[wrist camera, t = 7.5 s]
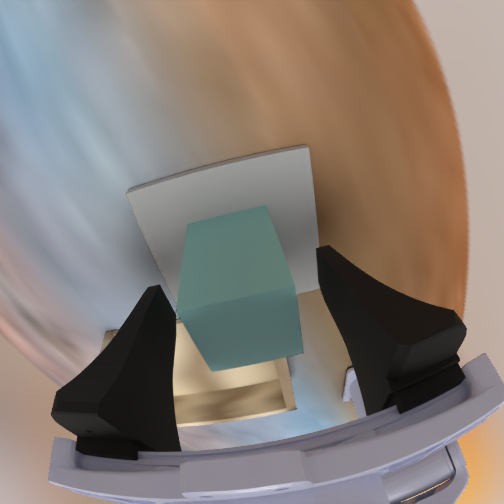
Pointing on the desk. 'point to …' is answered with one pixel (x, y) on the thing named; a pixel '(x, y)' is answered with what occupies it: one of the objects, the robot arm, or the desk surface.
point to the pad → (234, 208)
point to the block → (238, 291)
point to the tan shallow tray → (223, 386)
